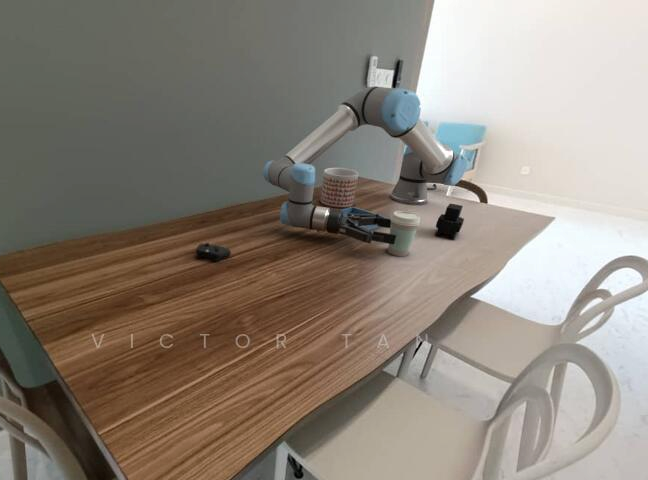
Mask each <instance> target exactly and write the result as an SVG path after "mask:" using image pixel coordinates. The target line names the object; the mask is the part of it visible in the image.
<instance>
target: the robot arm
mask: <svg viewBox="0 0 648 480" xmlns="http://www.w3.org/2000/svg"><path fill="white" fill-rule="evenodd" d="M420 106H421V100H420V98H419V96H418V95H417V93H416V92H414V91H413V90H409V89H407V88H402V87H400V88H393V87H384V86H373V85H372V86H369V87H366V88H363V89H360V90H359V91H357V92H356V93H354V94H352V95H351V96H350V97H348V98H347V99H345V100H344V101H343V102H342V103H341V104H339V105H338V107H337V108H336V112H335V113H334V114H332V115H331V116H330V117H329V118H328V119H326V120H325V121H324V122H323V123H321V125H319V126H318V127H317V128H316V129H314V130H313V131H312V132H311V133H310V134H309V135H308V136H306V137H305V138H304V139H302V140H301V141H300V142H299V143H298V144H296V145H295V146H294V147H293V148H292V149H291V150H289V152H287V153H286V154H285V155H283V156H282V157H281V158H280V159H278V160H276V159H275V160H273V159H272V160H269V161H267V162H266V163H265V165H264V167H263V171H262V175H263V178H264V180H265V181H266V182H268V183H269V184H271V185H272V186H275V187H278V188H280V189H282V190H284V191H286V192H288V200H285V201H284V202H283V203H282V204H281V207H280V211H279V221H280V223H281V224H282V225H286V226H290V227H292V228H301V229H306V230H312V231H316V232H317V233H320V232H323V233H324V232H327V233H328V234H333V235H334V234H335V235H338V234H340V235H344V236H347V237H349V238H352V239H355V240H357V241H360V242H363V243H365V244H371V243H372V242H378V243H382V244H383V243H384V244H388V245H389V244H394V243H395V239H396V235H394V234H390V233H388V232H383V231H377V230H370V231H369V230H367V229H365V228H363V227H361V226H367V225H377V224H378V225H377V226H380V227H379V228H387V229H390V226H391V220H390V218H388V219H387V218H381V217H379V215H380V214H379V213H375V214H351V213H348V215H347V217H346V216H345V217H344V216H343V211H342V209H339V208H331V209H330V207H325V206H319V205H313V198H314V189H315V183H316V167H315V166H314V165H312V164H313V162H314V161H315V160H317V159H318V158H319V157H320V156H322V155H323V154H324V153H325V152H326V151H327V150H328V149H330V148H331V147H332V146H333V145H335V144H336V143H337V142H338V141H339V140H341V139H342V138H343V137H344V136H345V135H346V134H347V133H349V132H353V131H356V130H357V129H358V128H359V127H361V126H366V125H370V126H373V127H378V128H381V129H382V130H384V132H386V134H387V135H389V136H390V137H391V138H394V139H399V140H401V142H402V143H403V144H404V145H405V146H406V147H405V149H404V153H403V157H402V162H401V167H400V172H399V177H398V180H397V182H396V184H395V186H394V187H393V189H392V191H391V194H390V199H392V200H394V201H395V202H399V203H402V204H407V205H423V204H426V203H427V201H428V191H435V190H436V189H437V184H438V183H439V184H442V185H444V186H449V187H452V186H455V185H457V184H458V183H459V182H460V181H461V180H462V179H463V177H464V175H465V174H466V171H467V167H468V158H467V157H466V156H465V155H463V154H459V153H456V152H455V151H454V150H453V149H452V148H451V146H449V145H447V144H442V143H441V142H440V141H439V139H438V138H437V137H436V136H435V135H434V133H433V132H432V131H431V129H429V127H428V126H427V125H426V124H425V123H424V121H423V120H422V119H421V118H420V116H421V110H422V109H421V107H420ZM428 180H429V181H432V182H435V183H433V184H432V187H428V186H427V185H428V184H427V183H428ZM436 183H437V184H436Z"/></svg>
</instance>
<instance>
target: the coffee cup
mask: <svg viewBox="0 0 648 480" xmlns="http://www.w3.org/2000/svg"><path fill="white" fill-rule="evenodd" d="M389 219H390V220H391V226H390V228H389V229H390V230H389V234H394V235H396V239H395V243H394V244H388V247H387V248H388V249H387V252H388V253H389V254H391V255H393V256H397V257H406V256H407V255H408V253H409V250H410V249H411V247H412V246H411V245H412V243H413V240H414V238H415V235H416V233H417V230H418V227H419V225H421V218H420V215H419V214H418V213H415V212H413V211H408V210H395V211H394V212H392V215H391V216H390V218H389Z"/></svg>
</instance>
